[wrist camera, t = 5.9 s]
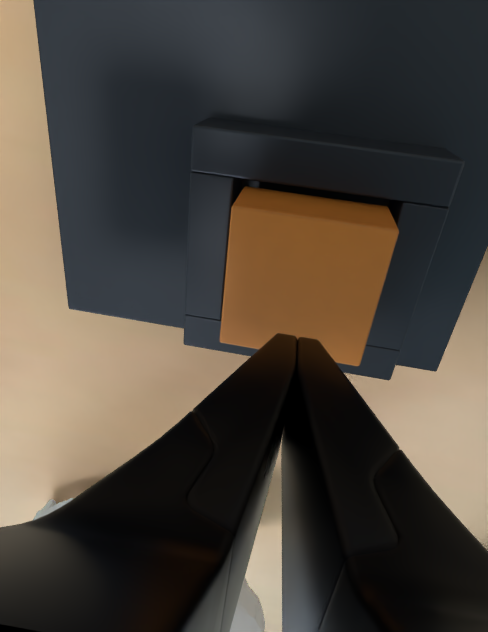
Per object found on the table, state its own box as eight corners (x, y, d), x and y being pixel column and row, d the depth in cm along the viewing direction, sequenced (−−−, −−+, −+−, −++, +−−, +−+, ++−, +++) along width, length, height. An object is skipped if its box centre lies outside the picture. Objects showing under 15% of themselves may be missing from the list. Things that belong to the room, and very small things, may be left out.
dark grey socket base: (547, 11, 12) (635, -10, 9) (424, 339, 18) (449, 405, 14) (67, -40, 13) (-21, -76, 10) (93, 285, 19) (42, 333, 15)
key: (388, 205, 12) (400, 230, 10) (354, 329, 14) (359, 367, 12) (244, 185, 12) (231, 205, 11) (231, 309, 14) (219, 343, 13)
